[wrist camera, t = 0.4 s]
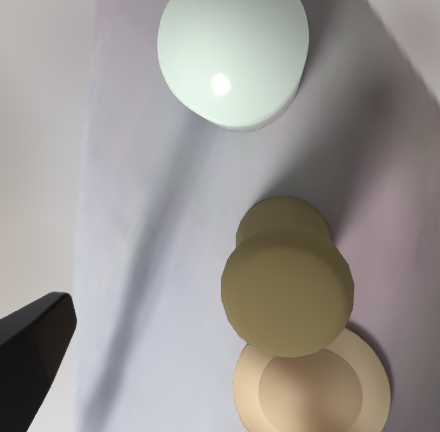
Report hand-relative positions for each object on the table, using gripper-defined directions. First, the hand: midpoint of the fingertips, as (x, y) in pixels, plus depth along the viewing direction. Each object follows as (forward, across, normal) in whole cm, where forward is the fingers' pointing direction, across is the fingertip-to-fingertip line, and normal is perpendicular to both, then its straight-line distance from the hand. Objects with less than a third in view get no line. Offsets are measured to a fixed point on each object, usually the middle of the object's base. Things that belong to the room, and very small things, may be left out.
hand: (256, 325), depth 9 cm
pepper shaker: (+15, -1, +7) cm, 16 cm away
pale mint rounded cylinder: (+18, +2, -3) cm, 19 cm away
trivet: (+11, -3, +16) cm, 20 cm away
